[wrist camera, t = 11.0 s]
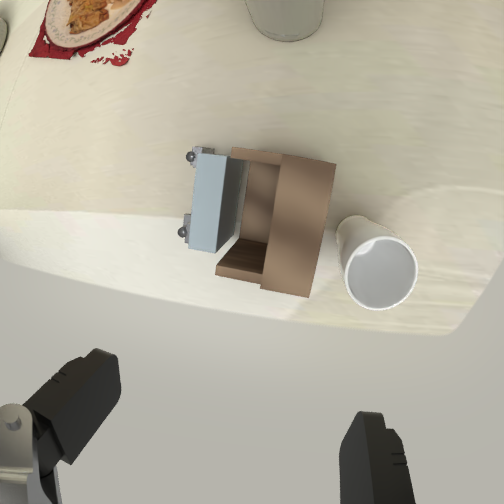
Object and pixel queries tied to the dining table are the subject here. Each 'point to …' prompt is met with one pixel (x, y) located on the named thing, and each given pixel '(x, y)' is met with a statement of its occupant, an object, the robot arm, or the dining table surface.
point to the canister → (2, 32)
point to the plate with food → (87, 26)
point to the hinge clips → (192, 159)
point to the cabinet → (280, 222)
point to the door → (214, 201)
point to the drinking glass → (374, 263)
